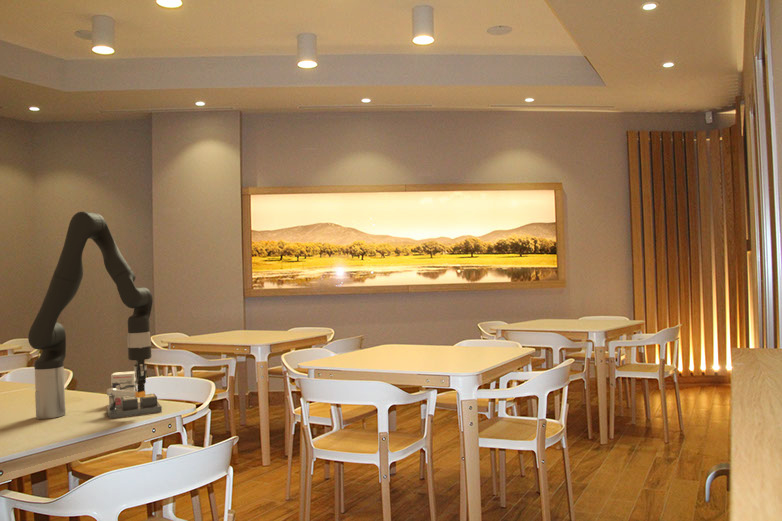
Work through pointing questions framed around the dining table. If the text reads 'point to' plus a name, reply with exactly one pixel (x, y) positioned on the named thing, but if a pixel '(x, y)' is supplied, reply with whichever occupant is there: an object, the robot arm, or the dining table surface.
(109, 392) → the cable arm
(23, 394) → the dining table surface
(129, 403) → the dark boxy piece
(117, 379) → the ink box
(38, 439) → the dining table surface
